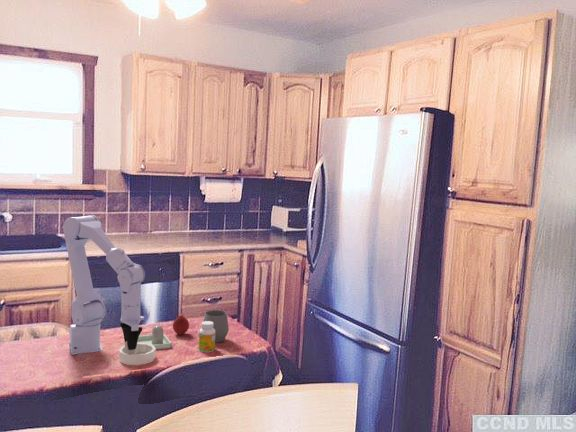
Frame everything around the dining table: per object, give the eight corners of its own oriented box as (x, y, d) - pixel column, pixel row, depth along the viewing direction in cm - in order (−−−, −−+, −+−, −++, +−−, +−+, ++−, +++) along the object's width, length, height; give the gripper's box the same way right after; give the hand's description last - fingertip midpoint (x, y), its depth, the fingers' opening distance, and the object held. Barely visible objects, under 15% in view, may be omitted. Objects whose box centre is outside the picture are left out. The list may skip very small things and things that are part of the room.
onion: (186, 338, 193) (187, 316, 192) (170, 337, 193) (171, 315, 193) (190, 333, 199) (190, 312, 198) (174, 332, 199) (175, 311, 198)
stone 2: (153, 345, 183) (153, 327, 182) (150, 342, 186) (151, 324, 186) (164, 344, 185) (164, 326, 184) (161, 341, 188) (162, 323, 187)
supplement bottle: (195, 352, 180) (196, 323, 179) (203, 347, 185) (204, 319, 184) (209, 354, 179) (210, 326, 178) (217, 349, 184) (218, 321, 183)
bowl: (122, 368, 164) (122, 357, 164) (116, 356, 174) (116, 345, 173) (158, 363, 169) (158, 352, 169) (150, 352, 179) (150, 341, 178)
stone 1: (126, 361, 168) (126, 342, 167) (123, 356, 171) (123, 338, 170) (138, 359, 170) (138, 340, 168) (135, 354, 173) (135, 336, 172)
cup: (231, 337, 196) (232, 310, 195) (224, 346, 187) (224, 318, 186) (206, 335, 198) (207, 308, 197) (197, 343, 189) (198, 315, 188)
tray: (132, 353, 176) (132, 347, 176) (126, 342, 186) (126, 337, 186) (171, 348, 182) (171, 343, 182) (163, 338, 192) (163, 333, 192)
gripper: (148, 309, 164) (148, 352, 165) (139, 297, 177) (138, 337, 178) (124, 311, 161) (124, 355, 162) (117, 299, 174) (116, 340, 175)
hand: (130, 346), depth 170 cm, fingers open, 5 cm apart
